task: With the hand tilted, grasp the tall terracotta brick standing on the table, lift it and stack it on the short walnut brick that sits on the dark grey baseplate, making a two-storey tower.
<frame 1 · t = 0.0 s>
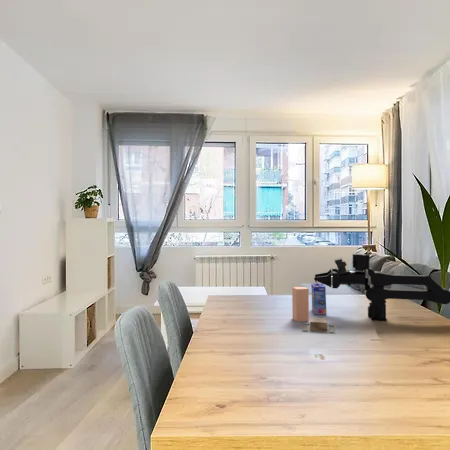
hand: (314, 277, 171), 17 cm above the table, tool horizontal, fingers open, 9 cm apart
ink cartridge box: (318, 312, 177), on the table
short brick: (318, 328, 146), point 1 cm above the table, touching baseplate
tall brick: (300, 322, 159), on the table
baseplate: (318, 331, 146), on the table
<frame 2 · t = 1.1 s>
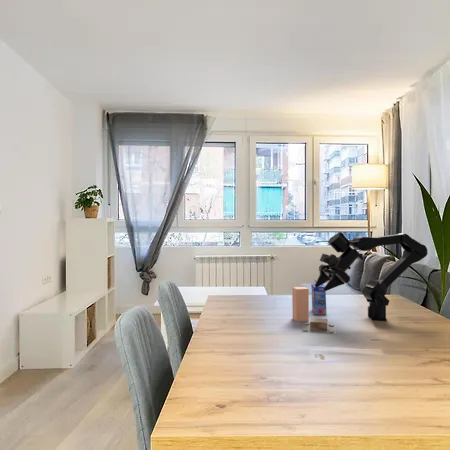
hand: (319, 288, 160), 13 cm above the table, tool tilted 45°, fingers open, 9 cm apart
nothing on the table moved.
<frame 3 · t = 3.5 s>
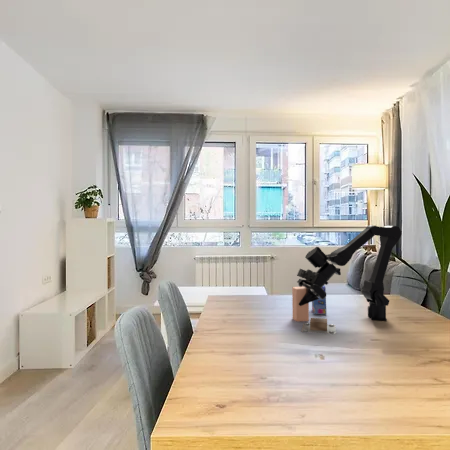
hand: (297, 303, 159), 8 cm above the table, tool tilted 45°, fingers closed on tall brick, 5 cm apart
tall brick: (300, 322, 159), on the table, touching gripper
everything else where it was.
when the fingers open (13 cm above the table, at t = 6.6 s): tall brick stays where it is, resting on short brick.
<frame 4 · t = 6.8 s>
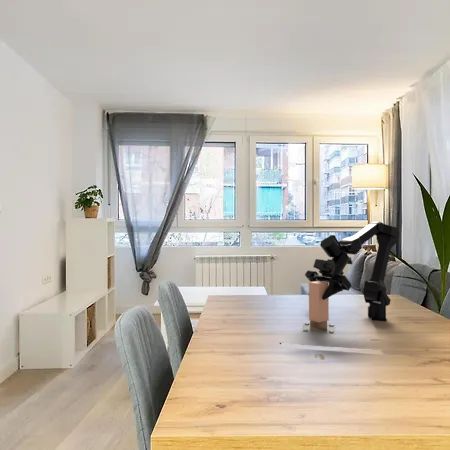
hand: (315, 297, 145), 13 cm above the table, tool tilted 45°, fingers open, 7 cm apart
short brick: (318, 328, 146), point 1 cm above the table, touching baseplate, tall brick
tall brick: (318, 320, 146), point 4 cm above the table, touching short brick
everything else where it was.
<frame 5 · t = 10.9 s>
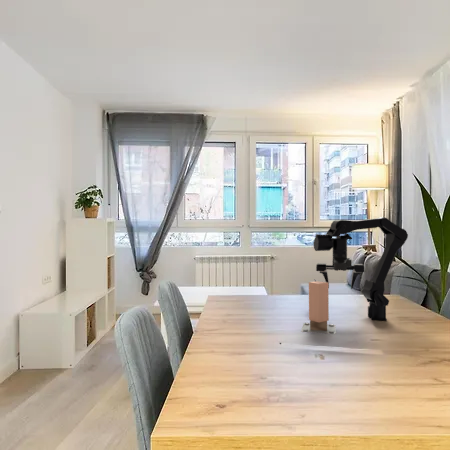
hand: (339, 288, 162), 13 cm above the table, tool pointing down, fingers open, 9 cm apart
nothing on the table moved.
at the end: tall brick 0.1 cm off-centre on the short brick, point 3.0 cm above the short brick's base; tall brick tilted 0°; tall brick touching short brick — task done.
